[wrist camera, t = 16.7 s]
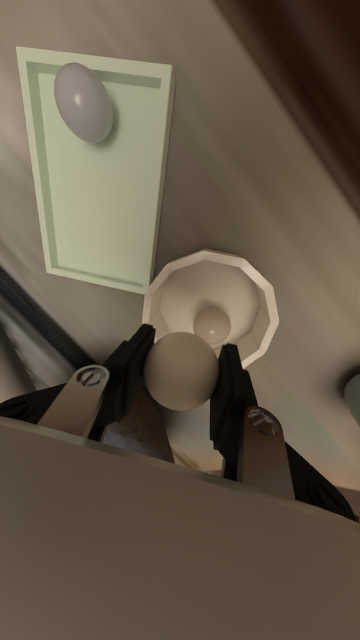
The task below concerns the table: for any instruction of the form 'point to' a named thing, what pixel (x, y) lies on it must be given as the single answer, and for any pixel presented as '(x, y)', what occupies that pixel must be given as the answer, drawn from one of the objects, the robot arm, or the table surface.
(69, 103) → the pebble
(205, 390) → the pebble
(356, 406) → the cup
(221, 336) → the pebble
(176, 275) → the bowl
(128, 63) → the tray
